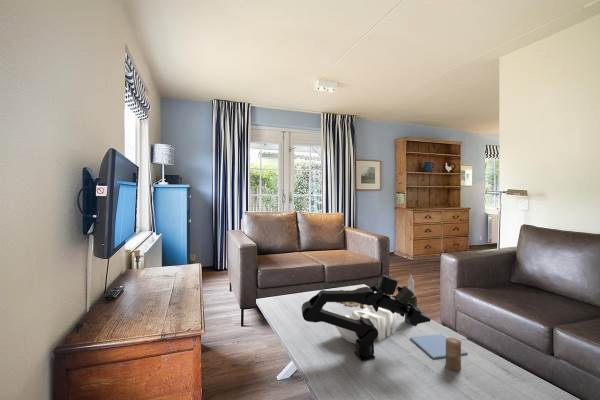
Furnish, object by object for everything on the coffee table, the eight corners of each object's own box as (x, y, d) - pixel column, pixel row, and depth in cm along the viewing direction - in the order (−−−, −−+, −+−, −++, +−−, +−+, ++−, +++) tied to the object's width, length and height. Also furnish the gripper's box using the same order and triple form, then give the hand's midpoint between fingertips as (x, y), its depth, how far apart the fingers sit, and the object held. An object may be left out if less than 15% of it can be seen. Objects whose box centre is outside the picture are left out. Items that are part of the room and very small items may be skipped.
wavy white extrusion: (354, 353, 118) (354, 328, 117) (329, 337, 131) (329, 314, 131) (405, 330, 137) (405, 308, 137) (379, 318, 151) (379, 298, 151)
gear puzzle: (379, 306, 167) (379, 299, 167) (362, 313, 157) (362, 306, 157) (341, 292, 192) (341, 286, 191) (324, 298, 182) (324, 291, 181)
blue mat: (433, 359, 113) (433, 357, 113) (410, 339, 129) (410, 337, 129) (467, 354, 116) (467, 352, 116) (441, 335, 132) (441, 333, 132)
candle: (407, 319, 149) (407, 272, 149) (417, 321, 146) (417, 274, 145) (404, 322, 145) (404, 274, 145) (414, 325, 142) (414, 276, 141)
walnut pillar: (453, 371, 105) (453, 345, 104) (442, 363, 110) (442, 338, 109) (464, 369, 106) (464, 343, 106) (453, 361, 111) (453, 336, 111)
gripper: (406, 293, 106) (443, 305, 107) (388, 278, 125) (420, 289, 126) (396, 320, 107) (433, 333, 107) (380, 301, 125) (412, 312, 126)
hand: (424, 315), depth 117 cm, fingers open, 9 cm apart
